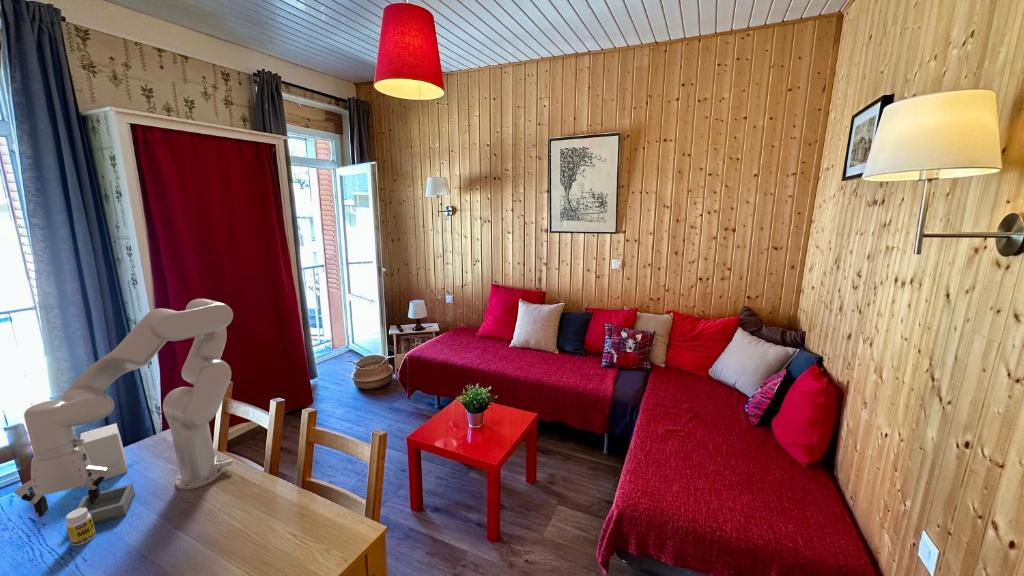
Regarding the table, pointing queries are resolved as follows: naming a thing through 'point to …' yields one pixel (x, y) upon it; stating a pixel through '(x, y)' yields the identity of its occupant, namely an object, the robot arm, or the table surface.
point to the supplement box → (105, 450)
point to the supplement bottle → (80, 526)
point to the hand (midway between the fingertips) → (69, 506)
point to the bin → (109, 504)
